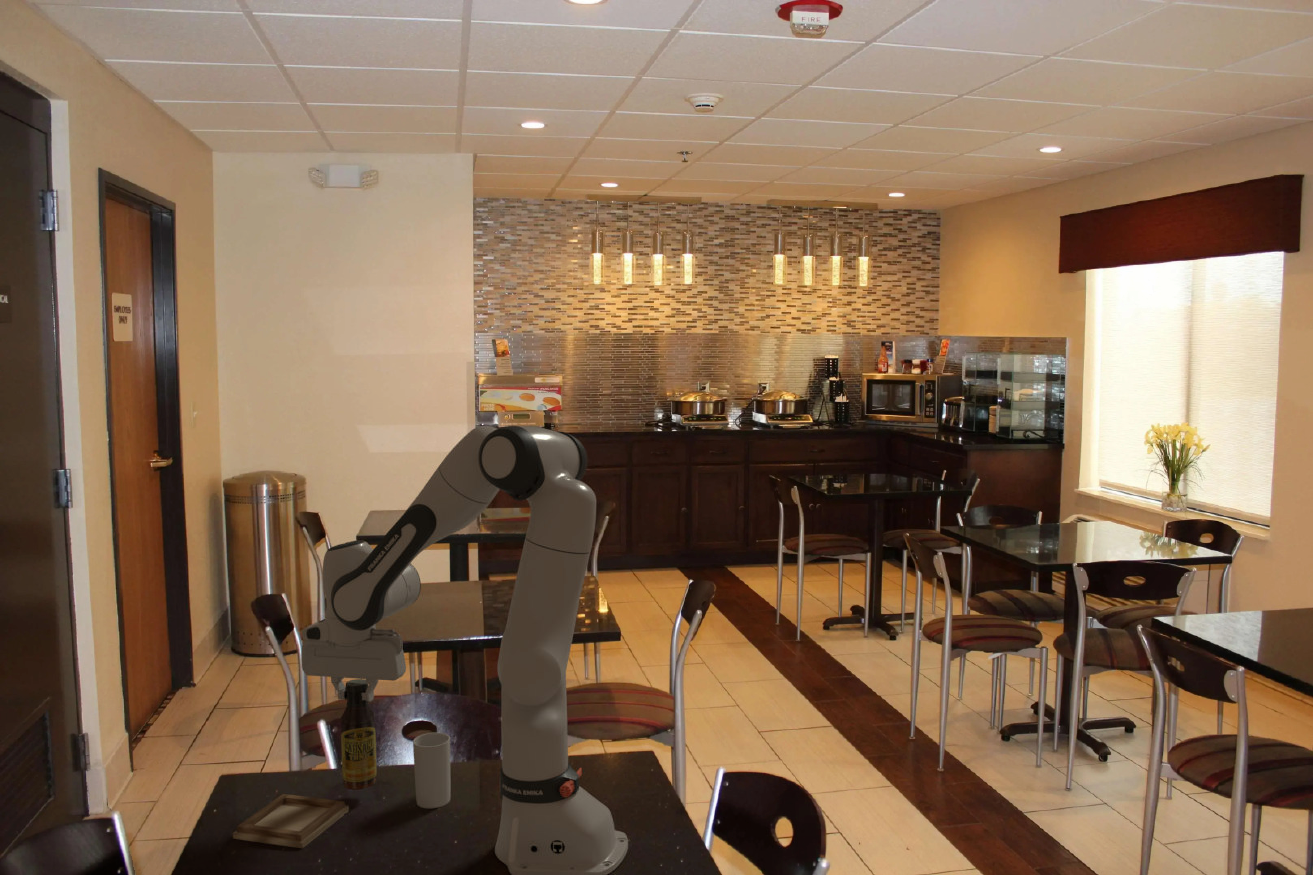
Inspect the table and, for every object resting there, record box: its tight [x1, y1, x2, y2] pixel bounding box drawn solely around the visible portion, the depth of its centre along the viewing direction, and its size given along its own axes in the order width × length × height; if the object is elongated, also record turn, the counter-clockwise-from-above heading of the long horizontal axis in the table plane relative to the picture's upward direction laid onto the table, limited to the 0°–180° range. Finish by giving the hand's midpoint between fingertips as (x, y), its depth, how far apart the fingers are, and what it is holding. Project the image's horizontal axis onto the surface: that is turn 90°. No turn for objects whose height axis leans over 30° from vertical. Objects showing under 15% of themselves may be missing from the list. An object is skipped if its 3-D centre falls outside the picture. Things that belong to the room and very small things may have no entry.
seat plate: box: [232, 793, 350, 849], centre depth 178 cm, size 14×14×2 cm
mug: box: [412, 732, 452, 810], centre depth 188 cm, size 10×7×12 cm, turn 178°
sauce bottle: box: [340, 678, 378, 791], centre depth 187 cm, size 7×6×20 cm
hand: (356, 699), depth 186 cm, fingers closed on sauce bottle, 4 cm apart
